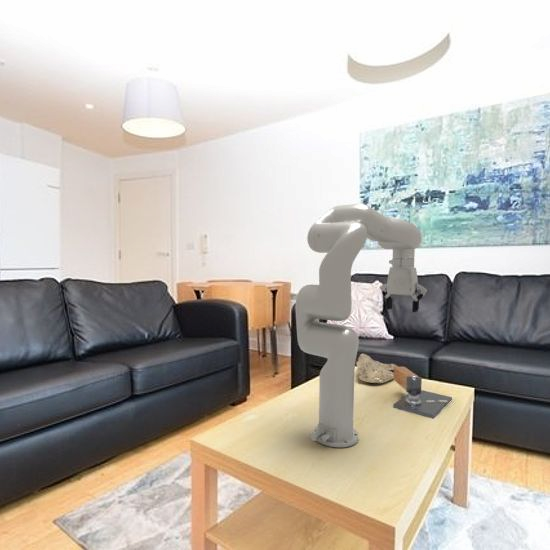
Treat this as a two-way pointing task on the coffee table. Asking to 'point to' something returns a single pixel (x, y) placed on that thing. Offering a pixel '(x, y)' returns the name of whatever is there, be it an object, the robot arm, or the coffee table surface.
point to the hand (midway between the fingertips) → (401, 310)
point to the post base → (423, 403)
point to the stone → (373, 370)
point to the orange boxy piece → (408, 380)
